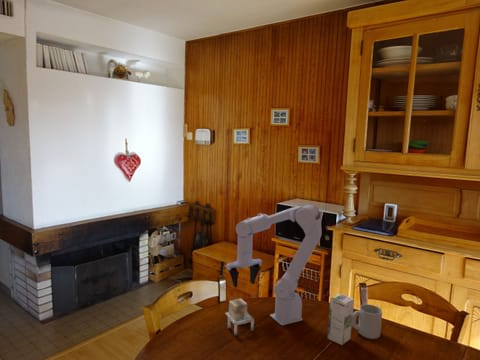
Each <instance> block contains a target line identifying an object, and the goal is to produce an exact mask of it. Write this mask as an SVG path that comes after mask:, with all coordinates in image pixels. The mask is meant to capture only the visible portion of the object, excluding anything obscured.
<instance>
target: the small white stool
mask: <svg viewBox="0 0 480 360" xmlns="http://www.w3.org/2000/svg"><path fill="white" fill-rule="evenodd" d="M247 317H248V318H249V319H247ZM231 323H232V324H233V327H234V328H233V336H237V335H238V325H247V323H250V332H254V330H255V329H254V328H255V318H254V317H253V316H252V315H251V314H250V313H249V312H248V311H247V312H246V311H245V312H244V320H241V321H237V322H236V321H235V320H234V319H233V318H232V317H231V316H230V315H228V316H227V329H231Z"/></svg>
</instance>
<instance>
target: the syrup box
mask: <svg viewBox="0 0 480 360" xmlns="http://www.w3.org/2000/svg"><path fill="white" fill-rule="evenodd" d="M354 303H355V299H354V298H352V297H350V296H348V295H345V294H342V293H337V294H336V295H334V296H332V297H331V298H330V300H329V309H328V310H329V313H328V321H327V323H328V324H327V337H326V338H327V339H328V340H330V341H332V342H334V343H337V344H338V345H341V346H344V345H345V344H346V343H347V342H349V341H350V340H351V339H352V337H351V336H352V328H353V326H352V318H353V313H354Z"/></svg>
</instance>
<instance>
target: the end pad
mask: <svg viewBox="0 0 480 360" xmlns="http://www.w3.org/2000/svg"><path fill="white" fill-rule="evenodd" d="M224 314H225V315H226V317H228V315H230V314H229V311H227V312H225V313H224ZM230 316H231V315H230ZM231 317H232V316H231ZM232 318H233V317H232ZM233 319H234V318H233ZM247 319H249V318H248V317H247ZM234 320H235V321H236V322H237V321H241V320H244V318H240V319H234Z"/></svg>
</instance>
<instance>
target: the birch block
mask: <svg viewBox="0 0 480 360" xmlns="http://www.w3.org/2000/svg"><path fill="white" fill-rule="evenodd" d="M245 311H246V312H247V313H248V303H247V302H246V301H244V299H242V298H236V299H231V300H229V302H228V312H229V314H230V315H231V316H232V317H233V318H234V319H240V318H244V312H245Z"/></svg>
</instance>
